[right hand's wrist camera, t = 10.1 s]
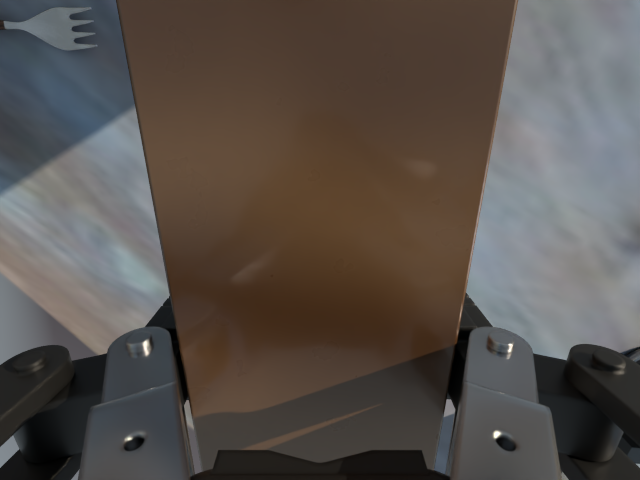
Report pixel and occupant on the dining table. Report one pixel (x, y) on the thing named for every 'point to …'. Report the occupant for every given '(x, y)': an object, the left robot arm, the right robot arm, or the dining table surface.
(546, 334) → the dining table surface
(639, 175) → the dining table surface
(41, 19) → the fork
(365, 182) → the box
